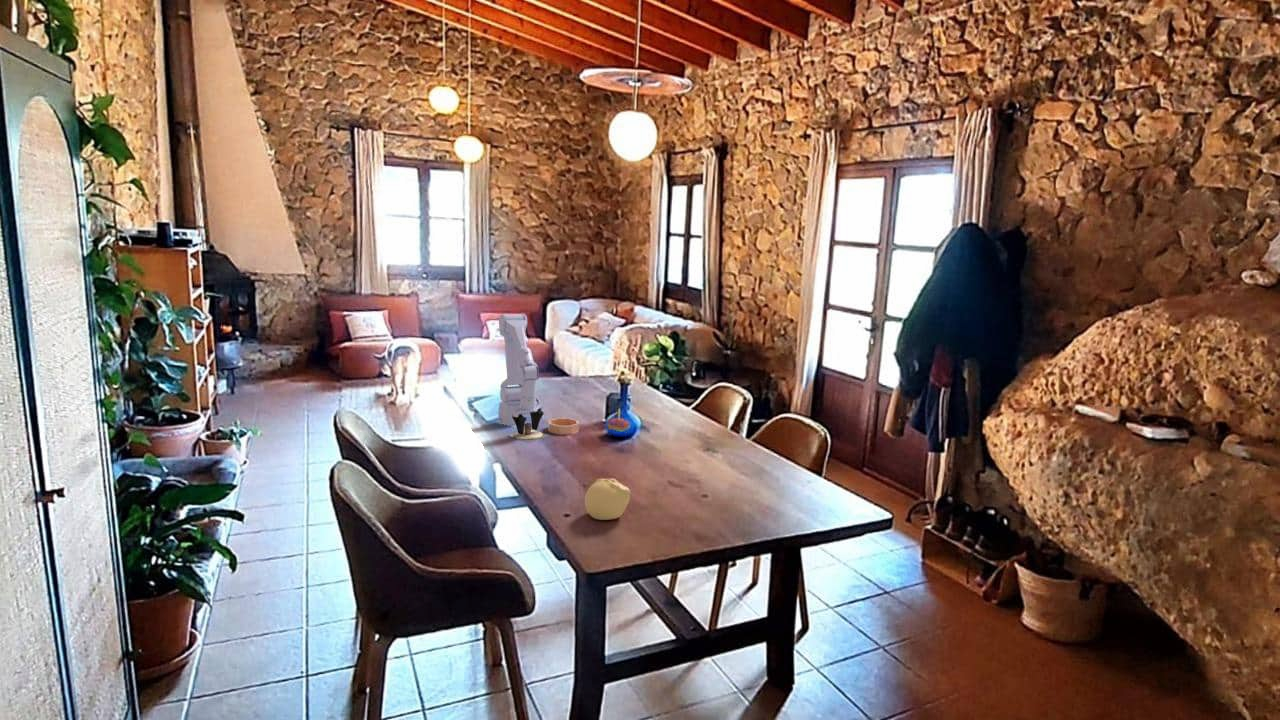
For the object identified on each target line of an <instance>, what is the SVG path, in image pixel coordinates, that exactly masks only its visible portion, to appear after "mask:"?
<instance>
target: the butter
mask: <svg viewBox="0 0 1280 720" xmlns="http://www.w3.org/2000/svg"><path fill="white" fill-rule="evenodd" d="M630 495H631V490H630V488H629V487H627V486H626V485H623V484H622V483H621V482H619V481H618V480H617V479H616V478H613V477H612V478H597V479H596V480H595V482H593V484H591V485H590V487H589V488H588V489H587V491H586V493H585V496H584V507H585V509H586V512H587V513H588V515H590V517H592V518H593V519H595V520H600V521H601V520H602V521H607V520H616V519H618V518H620V517H621V516H622V515H623V513H624V512H625V510H626V508H627V506H628V504H629V503H630V501H631V497H630Z"/></svg>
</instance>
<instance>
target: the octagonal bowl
mask: <svg viewBox="0 0 1280 720" xmlns="http://www.w3.org/2000/svg"><path fill="white" fill-rule="evenodd" d="M547 425H548V426H547V431H548V433H551V434H555V435H573V434H576V433H579V432H580V421H579V420H577V419H574V418H570V417H555V418H553V419H548V423H547Z"/></svg>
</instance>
